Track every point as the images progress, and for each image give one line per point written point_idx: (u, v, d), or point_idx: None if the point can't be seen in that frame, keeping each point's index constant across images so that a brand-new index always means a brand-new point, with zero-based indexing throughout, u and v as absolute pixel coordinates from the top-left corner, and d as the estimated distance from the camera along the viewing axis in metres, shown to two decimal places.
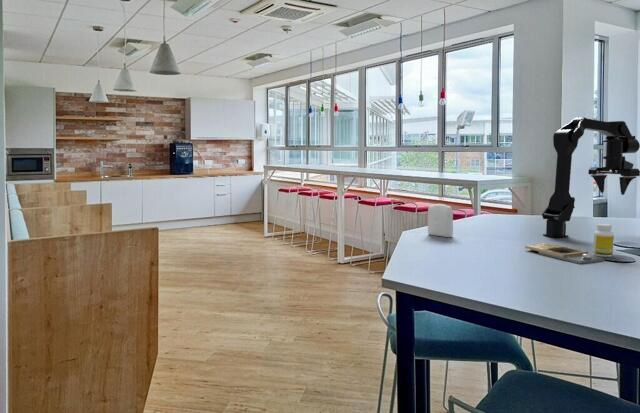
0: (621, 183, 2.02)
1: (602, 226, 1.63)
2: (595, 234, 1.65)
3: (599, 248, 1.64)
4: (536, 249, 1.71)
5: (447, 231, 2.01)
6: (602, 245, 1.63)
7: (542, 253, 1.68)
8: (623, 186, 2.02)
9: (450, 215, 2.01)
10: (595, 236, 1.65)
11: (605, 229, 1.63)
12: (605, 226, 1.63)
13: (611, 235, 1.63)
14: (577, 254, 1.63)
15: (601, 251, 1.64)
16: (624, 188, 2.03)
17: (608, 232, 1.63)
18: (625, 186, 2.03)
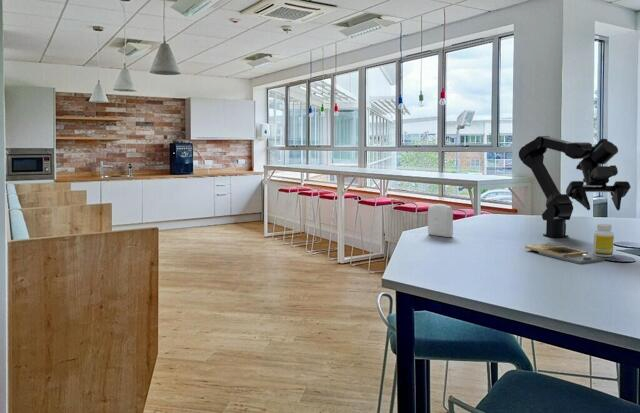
0: None
1: (602, 226, 1.63)
2: (595, 234, 1.65)
3: (599, 248, 1.64)
4: (536, 249, 1.71)
5: (447, 231, 2.01)
6: (602, 245, 1.63)
7: (542, 253, 1.68)
8: (582, 203, 1.75)
9: (450, 215, 2.01)
10: (595, 236, 1.65)
11: (605, 229, 1.63)
12: (605, 226, 1.63)
13: (611, 235, 1.63)
14: (577, 254, 1.63)
15: (601, 251, 1.64)
16: (584, 204, 1.74)
17: (608, 232, 1.63)
18: (583, 201, 1.74)
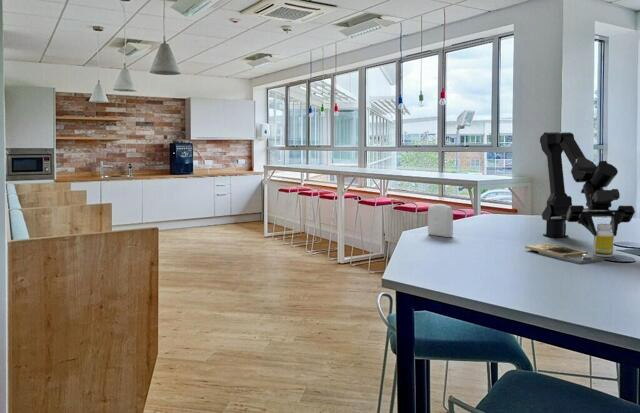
0: None
1: (602, 226, 1.63)
2: None
3: (599, 248, 1.64)
4: (536, 249, 1.71)
5: (447, 231, 2.01)
6: (602, 245, 1.63)
7: (542, 253, 1.68)
8: (588, 228, 1.67)
9: (450, 215, 2.01)
10: (595, 236, 1.65)
11: (605, 229, 1.63)
12: (605, 226, 1.63)
13: (611, 235, 1.63)
14: (577, 254, 1.63)
15: (601, 251, 1.64)
16: (590, 229, 1.66)
17: (608, 232, 1.63)
18: (589, 227, 1.67)
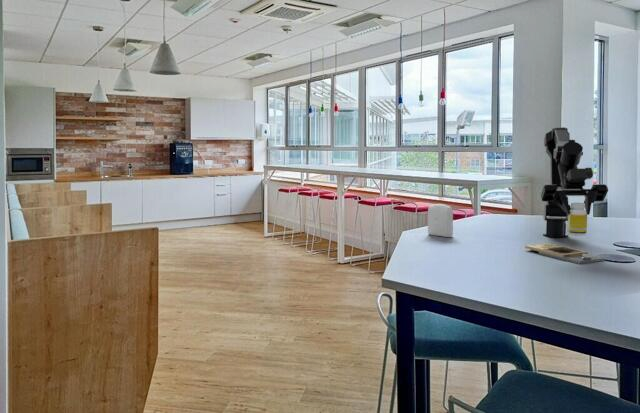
0: None
1: (575, 205, 1.63)
2: None
3: (572, 226, 1.64)
4: (536, 249, 1.71)
5: (447, 231, 2.01)
6: (576, 224, 1.63)
7: (542, 253, 1.68)
8: (562, 207, 1.67)
9: (450, 215, 2.01)
10: (569, 215, 1.65)
11: (579, 208, 1.63)
12: (578, 205, 1.63)
13: (584, 213, 1.63)
14: (577, 254, 1.63)
15: (574, 230, 1.64)
16: (564, 208, 1.66)
17: (581, 211, 1.63)
18: (563, 205, 1.67)
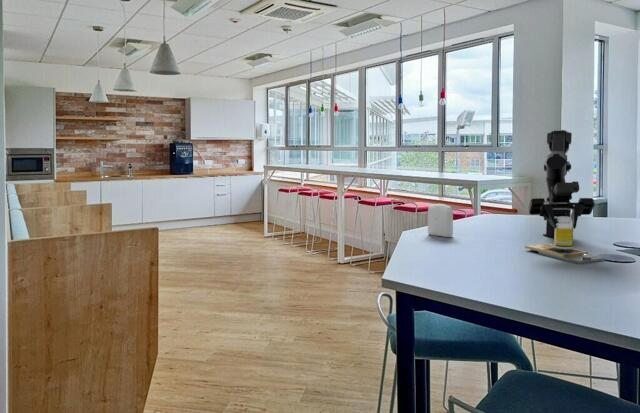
0: None
1: (562, 218, 1.64)
2: None
3: (559, 240, 1.65)
4: (536, 249, 1.71)
5: (447, 231, 2.01)
6: (562, 238, 1.64)
7: (542, 253, 1.68)
8: (549, 221, 1.69)
9: (450, 215, 2.01)
10: (555, 228, 1.66)
11: (565, 221, 1.64)
12: (564, 218, 1.64)
13: (570, 227, 1.64)
14: (577, 254, 1.63)
15: (561, 244, 1.65)
16: (550, 221, 1.67)
17: (568, 224, 1.64)
18: (549, 219, 1.68)
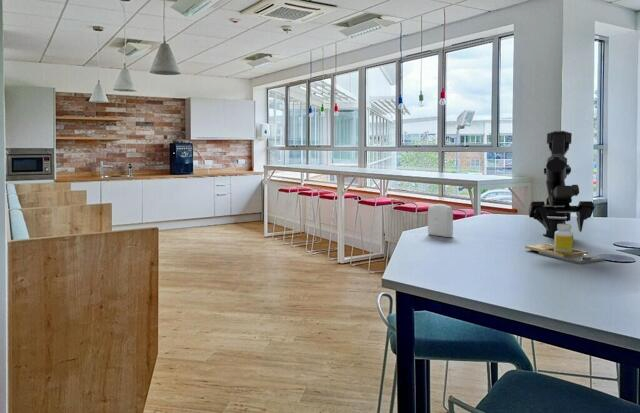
0: None
1: (562, 226, 1.65)
2: (555, 234, 1.66)
3: (558, 247, 1.65)
4: (536, 249, 1.71)
5: (447, 231, 2.01)
6: (562, 245, 1.65)
7: (542, 253, 1.68)
8: (543, 224, 1.69)
9: (450, 215, 2.01)
10: (555, 236, 1.66)
11: (565, 229, 1.64)
12: (564, 226, 1.64)
13: (570, 235, 1.64)
14: (577, 254, 1.63)
15: (560, 251, 1.65)
16: (544, 224, 1.68)
17: (567, 232, 1.64)
18: (543, 222, 1.68)
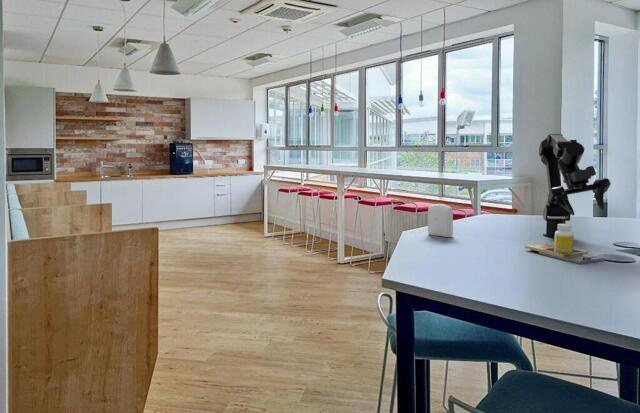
0: None
1: (562, 226, 1.65)
2: (555, 234, 1.66)
3: (559, 247, 1.65)
4: (536, 249, 1.71)
5: (447, 231, 2.01)
6: (562, 245, 1.65)
7: (542, 253, 1.68)
8: (565, 208, 1.76)
9: (450, 215, 2.01)
10: (555, 236, 1.66)
11: (565, 229, 1.64)
12: (565, 226, 1.64)
13: (571, 235, 1.64)
14: (577, 254, 1.63)
15: (560, 251, 1.65)
16: (567, 209, 1.75)
17: (568, 232, 1.64)
18: (566, 207, 1.75)
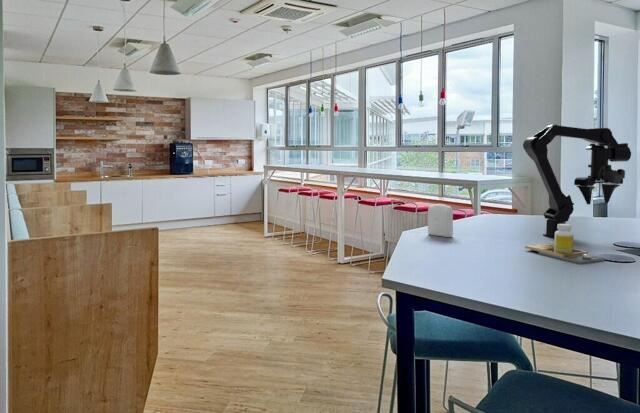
0: None
1: (562, 226, 1.65)
2: (555, 234, 1.66)
3: (559, 247, 1.65)
4: (536, 249, 1.71)
5: (447, 231, 2.01)
6: (562, 245, 1.65)
7: (542, 253, 1.68)
8: (583, 195, 1.98)
9: (450, 215, 2.01)
10: (555, 236, 1.66)
11: (565, 229, 1.64)
12: (565, 226, 1.64)
13: (571, 235, 1.64)
14: (577, 254, 1.63)
15: (560, 251, 1.65)
16: (586, 197, 1.97)
17: (568, 232, 1.64)
18: (586, 195, 1.97)
